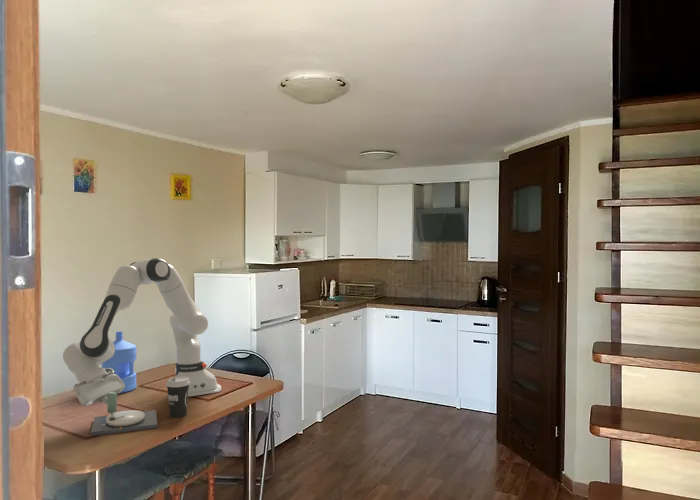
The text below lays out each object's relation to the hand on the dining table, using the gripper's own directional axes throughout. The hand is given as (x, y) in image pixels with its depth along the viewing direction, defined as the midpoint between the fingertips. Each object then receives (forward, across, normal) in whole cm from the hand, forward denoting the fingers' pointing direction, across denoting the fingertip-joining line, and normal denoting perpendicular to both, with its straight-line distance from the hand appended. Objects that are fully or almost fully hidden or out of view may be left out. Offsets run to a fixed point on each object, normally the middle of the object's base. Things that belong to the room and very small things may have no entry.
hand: (112, 405), depth 200 cm
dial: (+7, +3, +2) cm, 8 cm away
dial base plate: (+8, +3, +3) cm, 9 cm away
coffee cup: (+17, +19, -6) cm, 26 cm away
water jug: (-18, +42, +30) cm, 55 cm away
